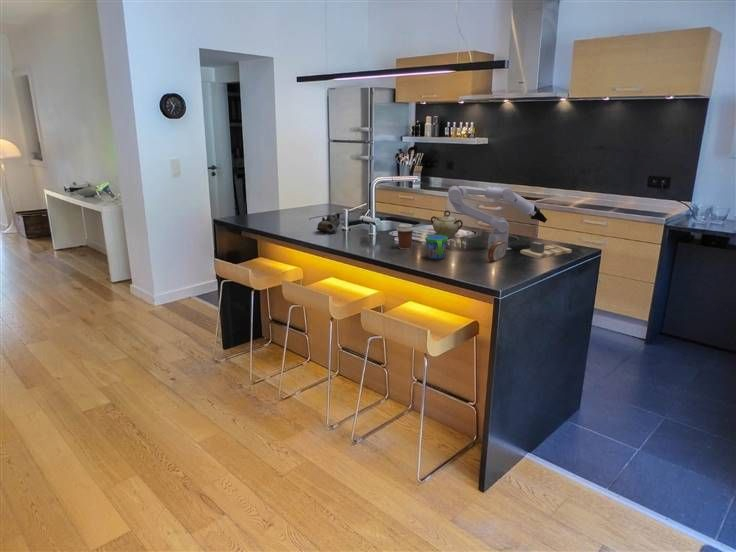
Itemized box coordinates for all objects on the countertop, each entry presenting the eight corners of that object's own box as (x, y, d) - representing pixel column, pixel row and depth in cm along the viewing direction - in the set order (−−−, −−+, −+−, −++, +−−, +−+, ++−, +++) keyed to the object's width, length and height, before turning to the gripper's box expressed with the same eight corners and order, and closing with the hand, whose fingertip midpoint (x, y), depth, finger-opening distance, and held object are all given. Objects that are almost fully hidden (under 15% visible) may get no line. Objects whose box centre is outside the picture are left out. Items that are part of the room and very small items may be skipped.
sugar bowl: (467, 236, 286) (469, 209, 282) (455, 241, 275) (456, 214, 270) (437, 232, 298) (437, 206, 293) (424, 237, 286) (424, 210, 282)
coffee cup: (415, 246, 267) (415, 223, 263) (412, 250, 258) (412, 227, 255) (398, 245, 269) (398, 223, 265) (394, 249, 261) (394, 226, 257)
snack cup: (423, 253, 252) (423, 233, 249) (444, 253, 252) (445, 233, 249) (426, 262, 237) (427, 241, 234) (449, 262, 237) (450, 240, 234)
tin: (501, 255, 246) (502, 238, 244) (507, 256, 244) (508, 239, 242) (486, 262, 235) (487, 244, 233) (493, 263, 233) (494, 245, 231)
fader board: (538, 258, 240) (538, 255, 239) (520, 253, 250) (520, 249, 249) (571, 252, 249) (571, 249, 249) (552, 247, 259) (553, 244, 259)
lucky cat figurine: (316, 230, 308) (324, 208, 309) (334, 237, 309) (343, 216, 310) (315, 228, 293) (324, 205, 294) (335, 235, 295) (344, 213, 295)
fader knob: (537, 252, 243) (538, 244, 242) (529, 250, 248) (530, 242, 246) (544, 251, 245) (544, 243, 244) (536, 249, 249) (536, 241, 248)
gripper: (529, 200, 242) (552, 215, 242) (524, 194, 255) (546, 209, 256) (520, 212, 244) (543, 227, 245) (515, 206, 258) (537, 221, 258)
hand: (544, 219), depth 251 cm, fingers open, 7 cm apart
